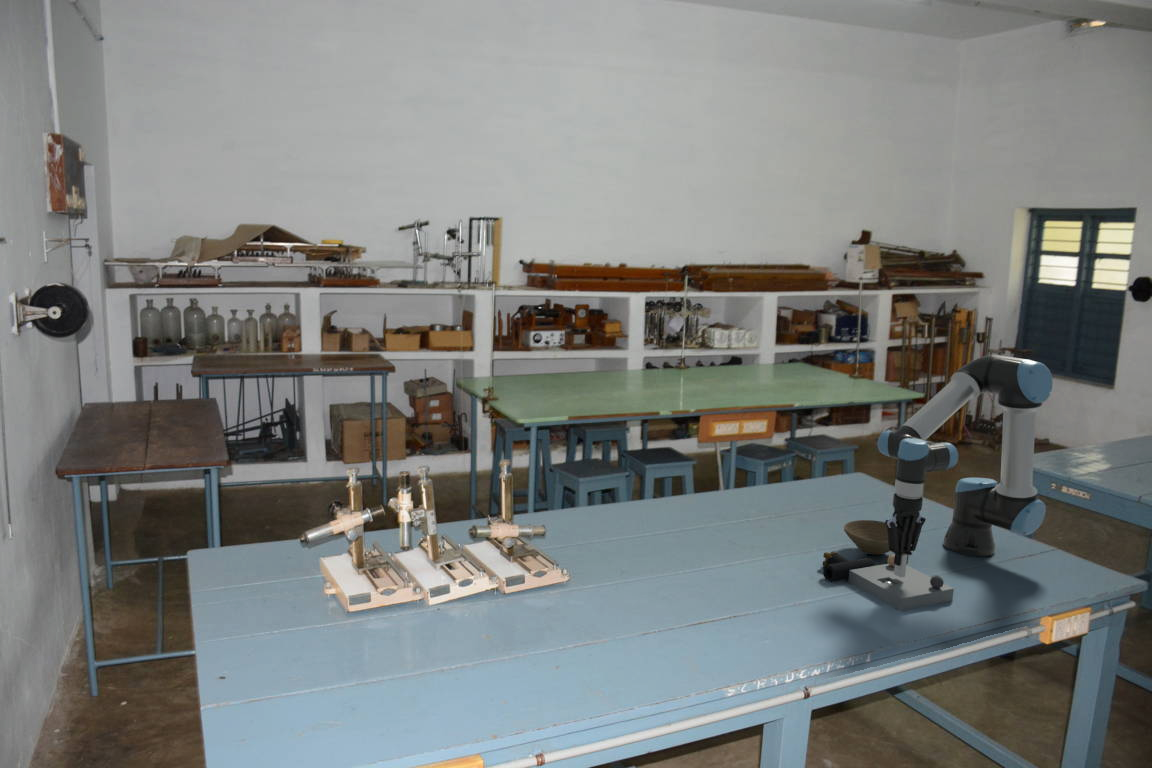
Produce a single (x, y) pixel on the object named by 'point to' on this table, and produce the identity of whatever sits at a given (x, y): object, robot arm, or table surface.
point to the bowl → (868, 536)
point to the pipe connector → (841, 566)
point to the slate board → (900, 587)
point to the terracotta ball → (891, 560)
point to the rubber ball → (936, 582)
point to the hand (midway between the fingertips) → (899, 575)
